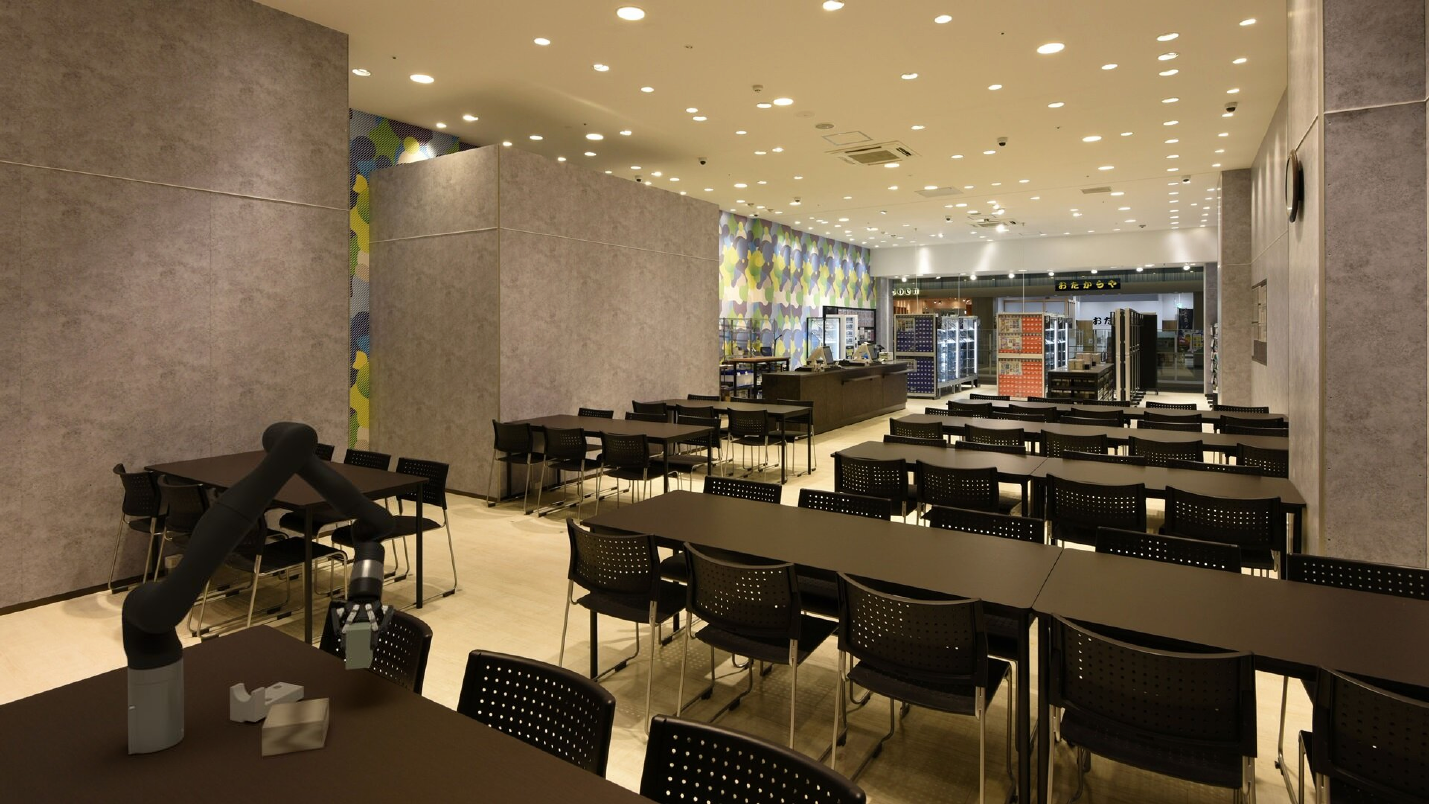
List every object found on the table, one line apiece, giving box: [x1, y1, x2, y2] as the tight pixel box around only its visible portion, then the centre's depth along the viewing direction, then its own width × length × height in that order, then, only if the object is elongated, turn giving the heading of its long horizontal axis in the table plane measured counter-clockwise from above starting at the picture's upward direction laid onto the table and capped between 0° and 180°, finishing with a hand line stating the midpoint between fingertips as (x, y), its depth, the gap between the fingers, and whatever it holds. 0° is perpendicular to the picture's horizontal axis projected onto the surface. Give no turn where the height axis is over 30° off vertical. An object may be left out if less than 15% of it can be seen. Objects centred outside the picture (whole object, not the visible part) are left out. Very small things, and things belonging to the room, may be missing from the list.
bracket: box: [229, 681, 305, 723], centre depth 171 cm, size 13×7×8 cm, turn 163°
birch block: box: [261, 697, 330, 757], centre depth 158 cm, size 11×11×6 cm
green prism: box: [345, 622, 374, 670], centre depth 174 cm, size 5×5×9 cm
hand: (358, 649), depth 172 cm, fingers closed on green prism, 5 cm apart
